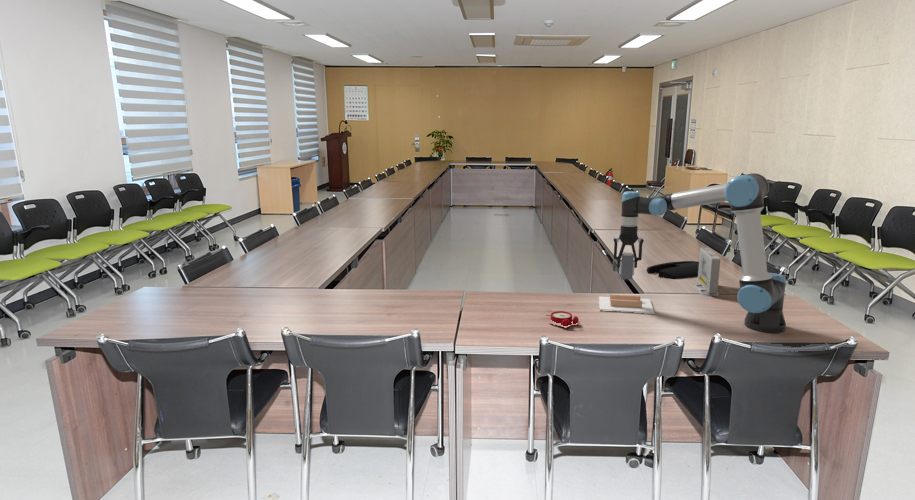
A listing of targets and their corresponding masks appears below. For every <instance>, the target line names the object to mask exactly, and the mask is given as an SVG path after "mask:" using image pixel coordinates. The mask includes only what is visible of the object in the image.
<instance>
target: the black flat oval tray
mask: <svg viewBox="0 0 915 500" xmlns="http://www.w3.org/2000/svg"><path fill="white" fill-rule="evenodd" d="M698 269H699V260H698V261H697V260H684V261H681V260H680V261H671V262H670V261H669V262H663V263H659V264H654V265H651V266H647V268H646V272H647V273H648V274H650V275H652V274H658V278H662V279H663V278H664V279H670V280H678V279H679V280H681V279H690V278H691V279H692V278H698Z"/></svg>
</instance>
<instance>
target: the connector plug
mask: <svg viewBox="0 0 915 500" xmlns="http://www.w3.org/2000/svg"><path fill="white" fill-rule="evenodd" d="M621 260H622V269H621V275H620V279H621V280H633V276H634V275H633V260H634V255H633V251H623V254H622V257H621Z"/></svg>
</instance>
